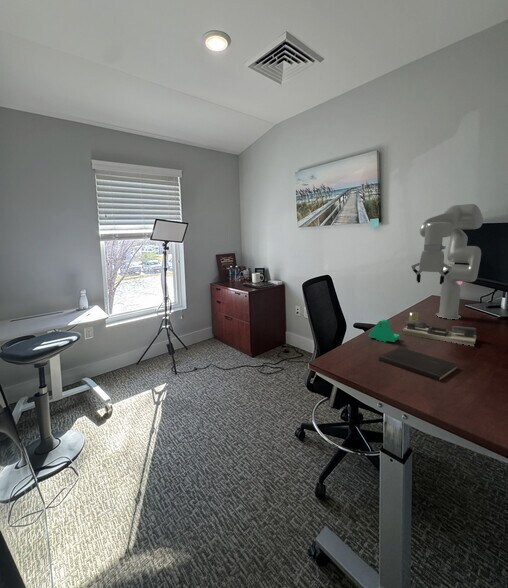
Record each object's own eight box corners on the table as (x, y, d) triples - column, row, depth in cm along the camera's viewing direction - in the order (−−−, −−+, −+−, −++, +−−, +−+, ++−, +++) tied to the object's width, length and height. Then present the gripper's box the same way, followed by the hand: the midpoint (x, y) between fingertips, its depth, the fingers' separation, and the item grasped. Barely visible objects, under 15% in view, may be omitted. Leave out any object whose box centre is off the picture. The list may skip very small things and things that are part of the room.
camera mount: (399, 339, 146) (400, 319, 144) (393, 344, 140) (395, 323, 138) (374, 334, 154) (375, 315, 152) (368, 338, 148) (369, 318, 146)
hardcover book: (398, 351, 133) (399, 347, 132) (457, 369, 114) (458, 364, 114) (378, 361, 123) (378, 356, 123) (438, 382, 105) (439, 376, 105)
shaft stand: (407, 328, 162) (408, 317, 161) (475, 339, 143) (477, 327, 142) (401, 333, 153) (402, 322, 152) (473, 346, 135) (475, 333, 133)
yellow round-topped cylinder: (409, 323, 171) (410, 311, 169) (418, 324, 168) (419, 312, 167) (407, 325, 167) (408, 313, 166) (416, 326, 164) (417, 314, 163)
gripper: (454, 248, 143) (451, 283, 147) (414, 247, 154) (412, 280, 157) (453, 249, 138) (449, 285, 141) (411, 248, 148) (408, 282, 152)
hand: (429, 283), depth 149 cm, fingers open, 9 cm apart
